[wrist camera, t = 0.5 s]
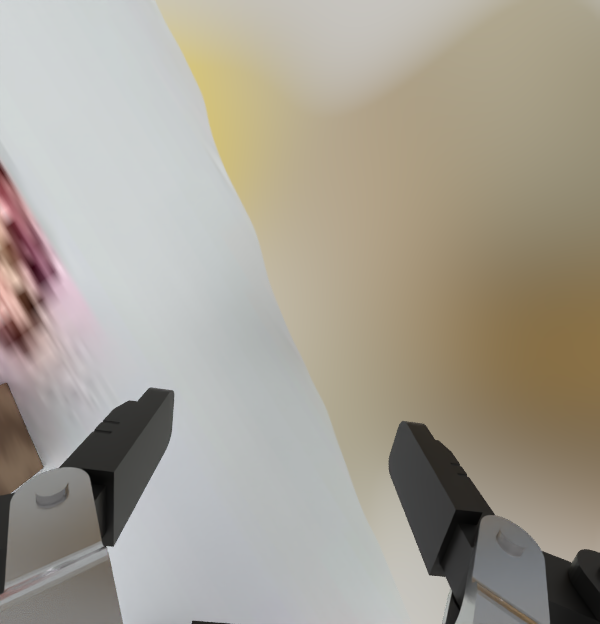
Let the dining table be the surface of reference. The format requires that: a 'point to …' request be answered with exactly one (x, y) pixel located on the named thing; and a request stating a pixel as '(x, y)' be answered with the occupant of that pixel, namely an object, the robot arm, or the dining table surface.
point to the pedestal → (14, 446)
